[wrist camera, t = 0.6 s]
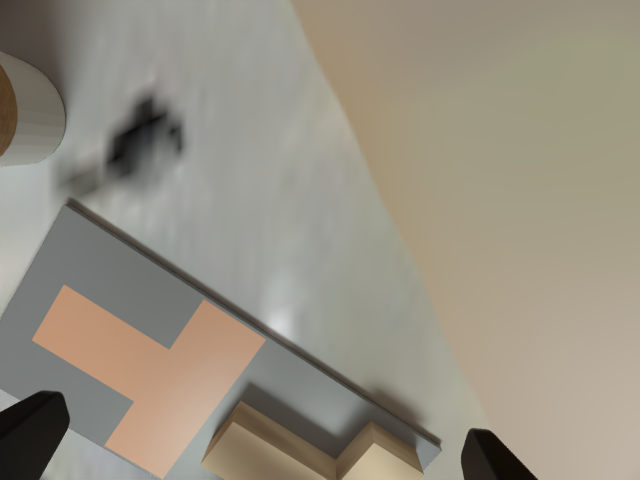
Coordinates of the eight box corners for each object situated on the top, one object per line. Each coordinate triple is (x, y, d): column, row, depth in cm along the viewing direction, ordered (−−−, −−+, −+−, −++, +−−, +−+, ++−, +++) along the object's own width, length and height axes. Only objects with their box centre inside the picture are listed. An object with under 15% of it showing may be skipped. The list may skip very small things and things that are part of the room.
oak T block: (316, 558, 26) (315, 589, 25) (181, 479, 25) (168, 505, 23) (416, 449, 24) (423, 474, 22) (273, 357, 23) (268, 375, 21)
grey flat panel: (325, 569, 27) (325, 575, 27) (-23, 368, 24) (-29, 372, 24) (439, 445, 25) (441, 450, 24) (69, 204, 22) (64, 204, 21)
